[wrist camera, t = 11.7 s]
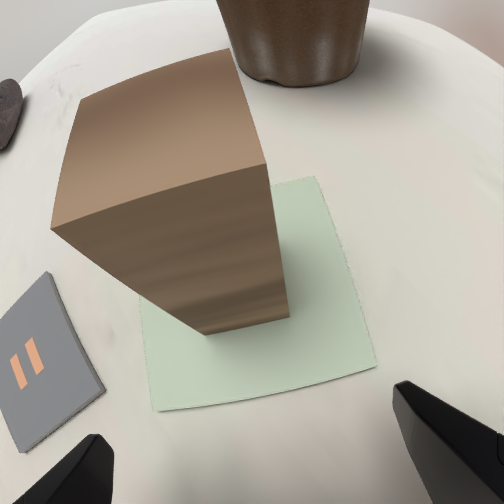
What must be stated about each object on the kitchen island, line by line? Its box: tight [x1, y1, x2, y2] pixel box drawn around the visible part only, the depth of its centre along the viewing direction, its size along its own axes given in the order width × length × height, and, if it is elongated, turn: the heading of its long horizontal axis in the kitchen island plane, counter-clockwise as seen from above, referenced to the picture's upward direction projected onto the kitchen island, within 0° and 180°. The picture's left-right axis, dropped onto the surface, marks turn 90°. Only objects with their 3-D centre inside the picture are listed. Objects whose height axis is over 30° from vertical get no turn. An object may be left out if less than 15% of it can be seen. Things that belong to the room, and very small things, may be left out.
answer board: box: [139, 176, 377, 412], centre depth 18 cm, size 12×12×1 cm
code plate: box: [0, 271, 106, 453], centre depth 17 cm, size 10×10×1 cm
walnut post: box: [50, 48, 290, 336], centre depth 12 cm, size 5×5×12 cm
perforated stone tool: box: [0, 79, 23, 149], centre depth 29 cm, size 15×5×7 cm, turn 14°
